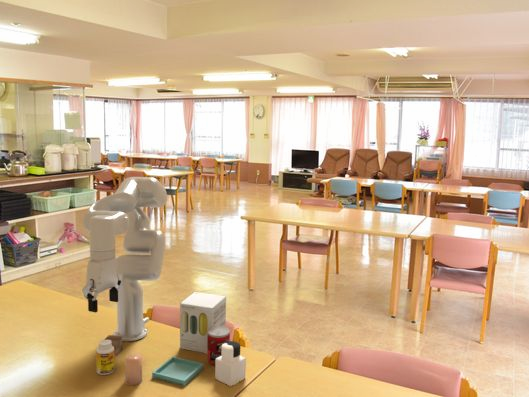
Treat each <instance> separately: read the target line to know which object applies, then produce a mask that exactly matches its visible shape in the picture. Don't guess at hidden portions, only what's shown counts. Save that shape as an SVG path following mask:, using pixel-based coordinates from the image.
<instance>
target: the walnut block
mask: <svg viewBox="0 0 529 397" xmlns="http://www.w3.org/2000/svg"><path fill="white" fill-rule="evenodd" d="M103 340H111V342H112V346H113V347H114V357H115V356H118V355H119V354H120V352H121V351H122V350H123V341H122V336H113V335H112V334H109V335H108V336H106V337H105V338H104V339H103Z"/></svg>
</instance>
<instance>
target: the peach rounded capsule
mask: <svg viewBox="0 0 529 397" xmlns="http://www.w3.org/2000/svg"><path fill="white" fill-rule="evenodd" d="M142 382H143V355H142V354H139V353H130V354H128V355H126V356H125V384H126V385H128V386H139V385H140V384H141V383H142Z"/></svg>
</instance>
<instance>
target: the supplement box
mask: <svg viewBox="0 0 529 397" xmlns="http://www.w3.org/2000/svg"><path fill="white" fill-rule="evenodd" d="M226 310H227V296H225V295H221V294H220V295H219V294H212V293H205V292H198V291H194V292H193V293H192V294H190V295H188V296H187V297H186V298H185V299H184V300H183V301H181V302H180V303H179V349H183V350H187V351H188V350H189V351H193V352H198V353H199V352H200V353H204V354H207V339H208V330H209V329H210V328H212V327H215V326H223V327H226V328H227V326H226V325H227V323H226V318H227V311H226Z"/></svg>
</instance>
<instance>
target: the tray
mask: <svg viewBox="0 0 529 397" xmlns="http://www.w3.org/2000/svg"><path fill="white" fill-rule="evenodd" d="M202 370H204V363H202V362H199V361H198V362H197V361H194V360H190V359H185V358H181V357H179V356H178V357H177V356H171V357H170V358H169V359H167V360H166V361H164V363H162V364H161V365H160V366H158V367H157V368H156V369H155V370H153V371H152V373H151V377H152V379H156V380H158V381H159V380H160V381H163V382H167V383H171V384H174V385H178V386H181V387H185V386H186V385H188V384H189V383H190V382H191V381H192V380H193V379H194V378H195V377H196V376H197V375H199V373H201V371H202ZM190 380H191V381H190ZM189 381H190V382H189Z"/></svg>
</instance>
